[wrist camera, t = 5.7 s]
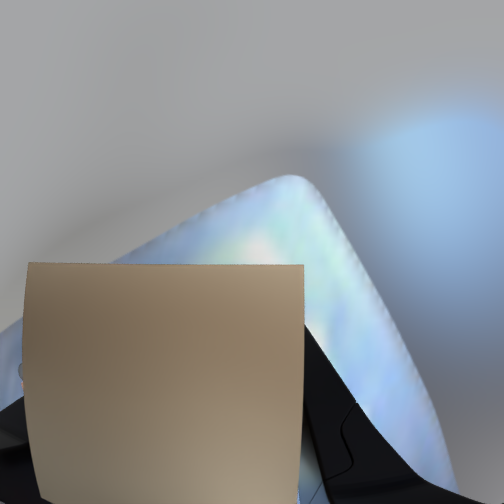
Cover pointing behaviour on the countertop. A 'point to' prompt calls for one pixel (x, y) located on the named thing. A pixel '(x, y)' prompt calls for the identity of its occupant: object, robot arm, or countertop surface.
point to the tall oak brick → (164, 382)
